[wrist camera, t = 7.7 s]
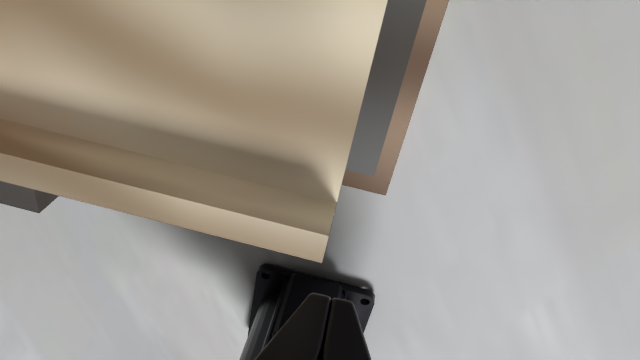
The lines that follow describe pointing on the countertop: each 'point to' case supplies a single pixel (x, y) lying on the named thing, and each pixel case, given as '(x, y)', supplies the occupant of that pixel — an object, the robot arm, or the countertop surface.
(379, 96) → the stand
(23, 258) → the countertop surface
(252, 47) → the beam
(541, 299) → the countertop surface
